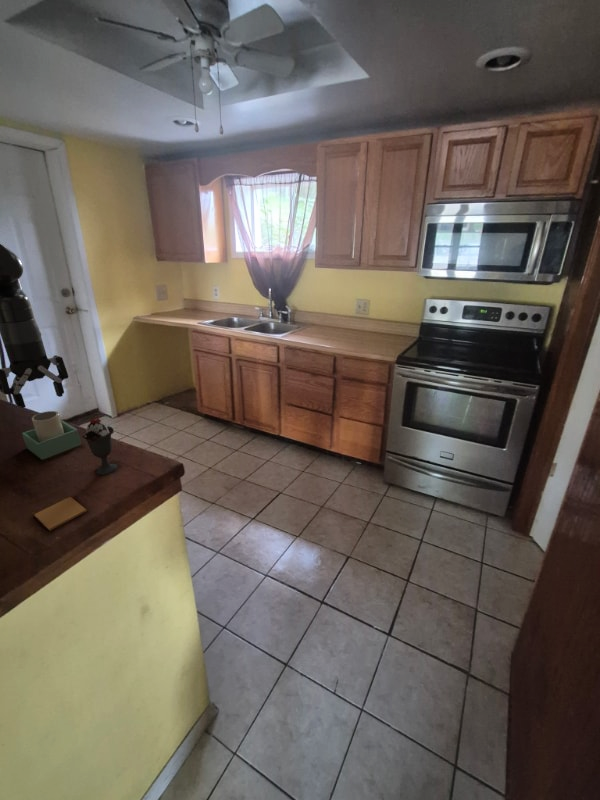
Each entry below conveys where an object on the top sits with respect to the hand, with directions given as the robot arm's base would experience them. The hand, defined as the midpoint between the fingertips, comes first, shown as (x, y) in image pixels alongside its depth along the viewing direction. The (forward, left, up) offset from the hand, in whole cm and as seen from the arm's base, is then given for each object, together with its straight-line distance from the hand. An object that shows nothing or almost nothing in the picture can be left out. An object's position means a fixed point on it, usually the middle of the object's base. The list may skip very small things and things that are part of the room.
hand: (41, 401), depth 94 cm
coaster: (-11, -29, -14) cm, 34 cm away
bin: (0, 0, -14) cm, 14 cm away
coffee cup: (0, 0, -13) cm, 13 cm away
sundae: (+3, -21, -14) cm, 25 cm away
